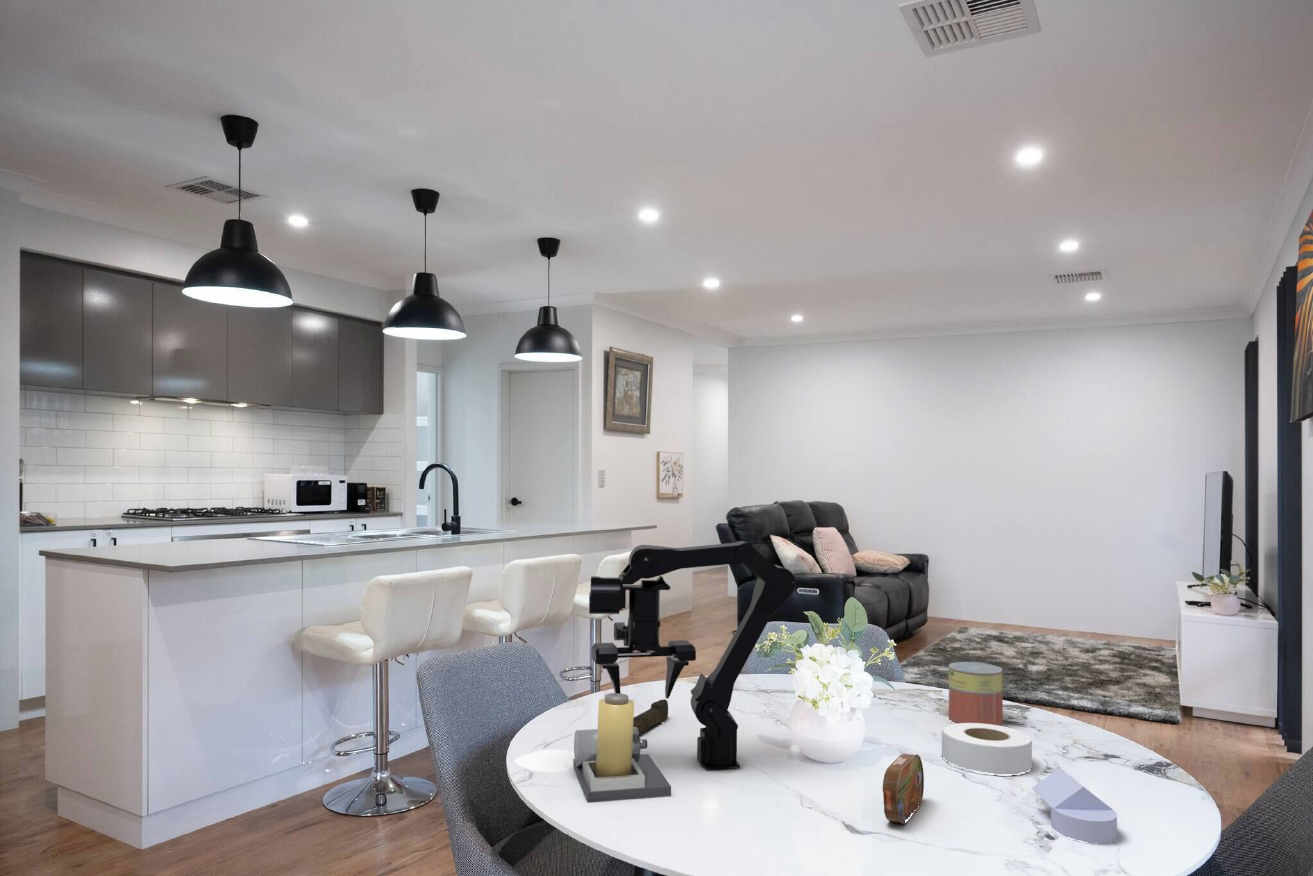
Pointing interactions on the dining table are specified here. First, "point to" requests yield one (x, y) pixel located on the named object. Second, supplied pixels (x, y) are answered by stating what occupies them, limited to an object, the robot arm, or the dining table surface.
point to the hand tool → (652, 716)
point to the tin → (903, 787)
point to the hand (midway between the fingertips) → (642, 699)
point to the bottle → (614, 735)
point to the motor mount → (637, 785)
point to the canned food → (975, 693)
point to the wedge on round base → (1077, 809)
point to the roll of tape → (987, 748)
